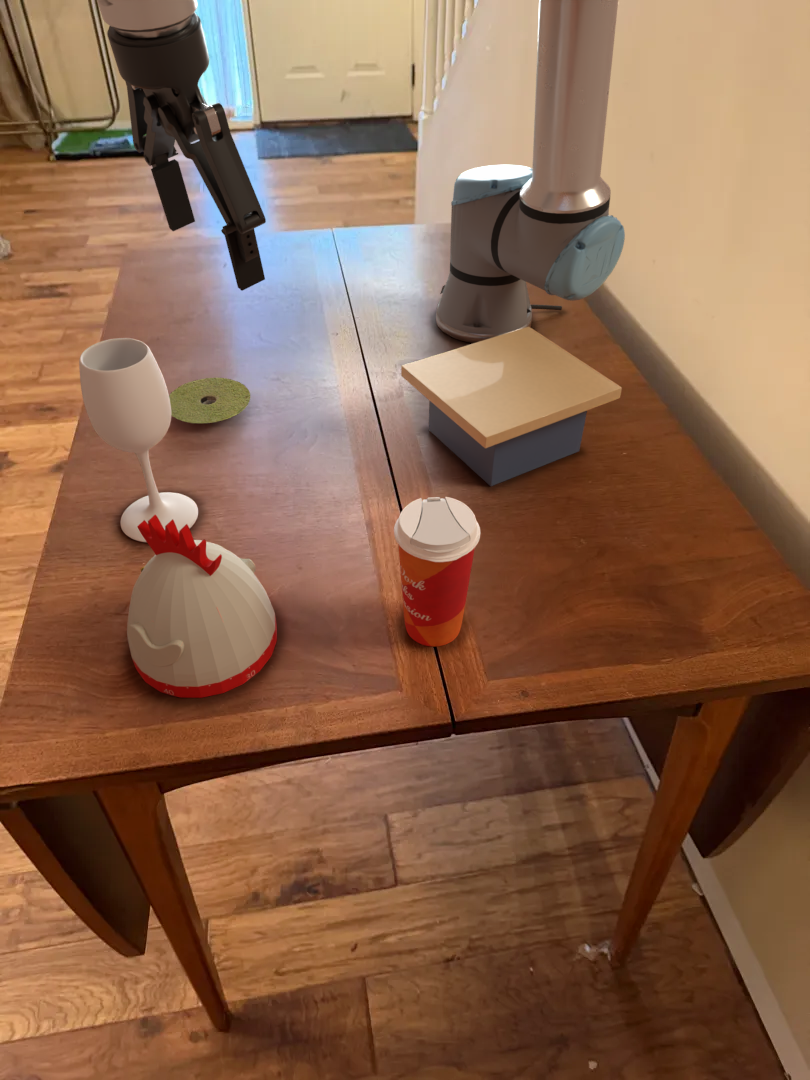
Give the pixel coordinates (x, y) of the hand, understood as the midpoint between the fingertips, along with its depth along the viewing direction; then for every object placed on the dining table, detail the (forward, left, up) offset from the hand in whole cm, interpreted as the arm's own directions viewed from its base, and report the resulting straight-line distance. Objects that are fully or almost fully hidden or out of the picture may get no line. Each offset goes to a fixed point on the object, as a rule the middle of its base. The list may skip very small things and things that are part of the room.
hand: (215, 253), depth 79 cm
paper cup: (-5, +35, -27) cm, 44 cm away
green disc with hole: (0, -13, -27) cm, 30 cm away
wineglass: (+13, +5, -27) cm, 30 cm away
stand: (-30, +13, -26) cm, 42 cm away
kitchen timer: (+15, +25, -27) cm, 39 cm away
